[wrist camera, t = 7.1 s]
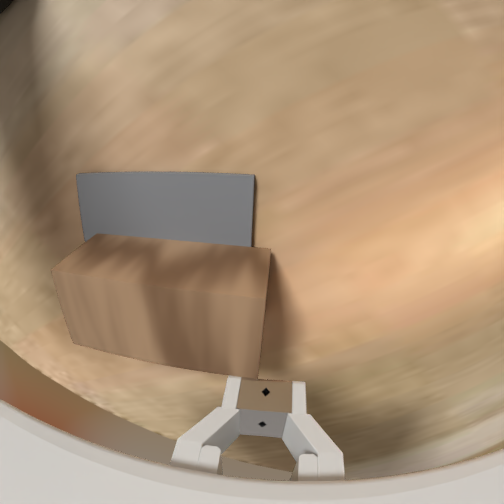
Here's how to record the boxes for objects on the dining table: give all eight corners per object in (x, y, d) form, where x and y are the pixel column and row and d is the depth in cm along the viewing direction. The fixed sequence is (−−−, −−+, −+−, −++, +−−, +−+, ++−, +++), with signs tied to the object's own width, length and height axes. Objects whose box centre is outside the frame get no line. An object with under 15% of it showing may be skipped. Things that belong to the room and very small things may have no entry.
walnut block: (265, 298, 13) (51, 269, 14) (257, 378, 15) (73, 343, 16) (271, 248, 17) (96, 233, 18) (264, 320, 19) (108, 298, 20)
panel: (254, 174, 16) (253, 176, 16) (246, 358, 22) (245, 362, 21) (79, 173, 17) (76, 174, 16) (110, 337, 22) (108, 340, 22)
